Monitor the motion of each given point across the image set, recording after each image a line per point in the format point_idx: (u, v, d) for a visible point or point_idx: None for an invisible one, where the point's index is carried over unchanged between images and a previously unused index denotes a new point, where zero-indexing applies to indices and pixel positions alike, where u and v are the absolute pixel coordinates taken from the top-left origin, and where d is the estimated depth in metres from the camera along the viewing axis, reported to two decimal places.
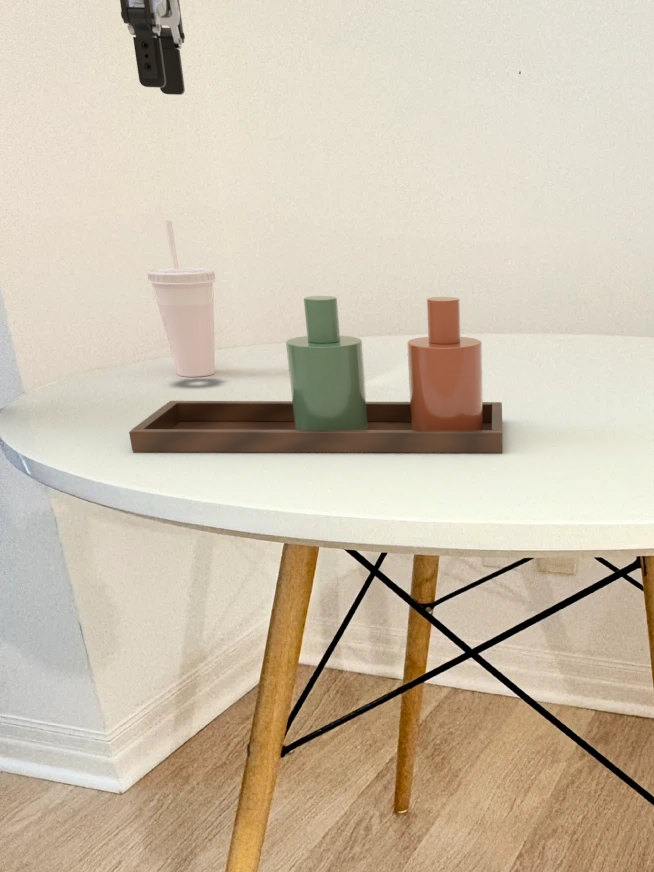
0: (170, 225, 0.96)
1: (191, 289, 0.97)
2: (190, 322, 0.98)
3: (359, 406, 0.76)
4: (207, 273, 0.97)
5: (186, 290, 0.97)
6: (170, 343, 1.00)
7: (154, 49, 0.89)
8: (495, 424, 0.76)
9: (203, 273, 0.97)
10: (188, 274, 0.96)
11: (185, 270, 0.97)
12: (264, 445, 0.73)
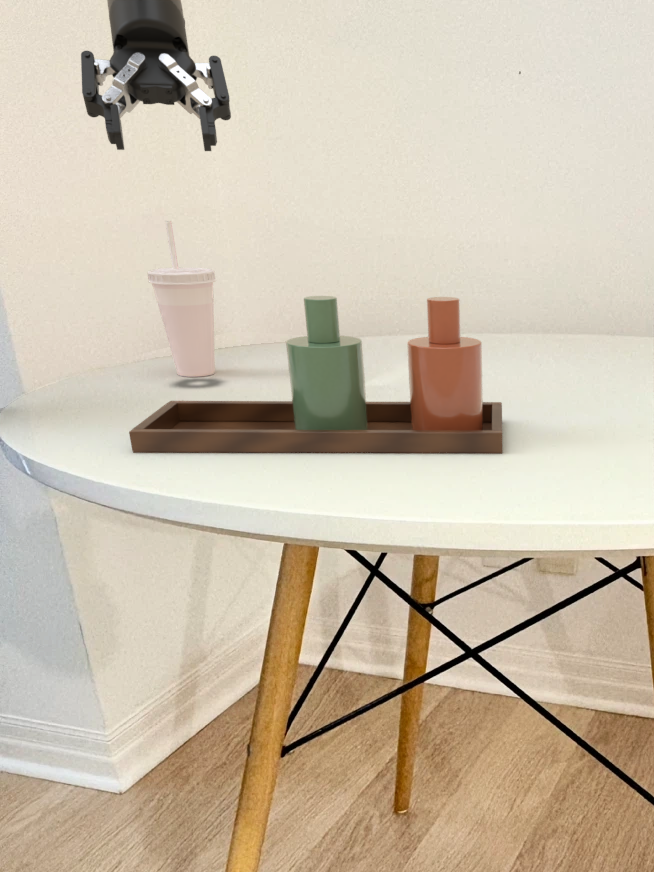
0: (170, 225, 0.96)
1: (191, 289, 0.97)
2: (190, 322, 0.98)
3: (359, 406, 0.76)
4: (207, 273, 0.97)
5: (186, 290, 0.97)
6: (170, 343, 1.00)
7: None
8: (495, 424, 0.76)
9: (203, 273, 0.97)
10: (188, 274, 0.96)
11: (185, 270, 0.97)
12: (264, 445, 0.73)
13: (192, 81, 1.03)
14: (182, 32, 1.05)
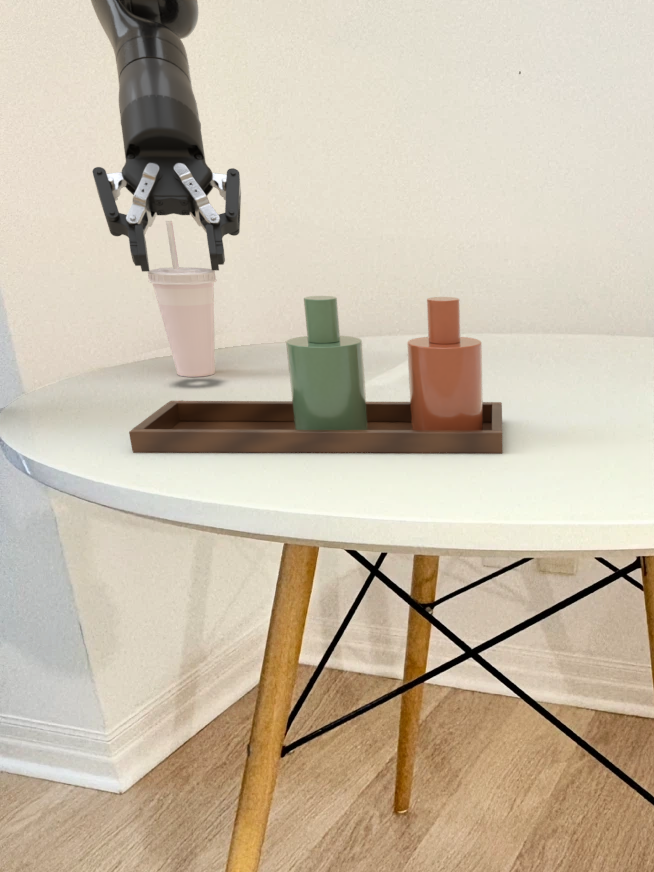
0: (171, 225, 0.96)
1: (191, 289, 0.97)
2: (190, 322, 0.98)
3: (359, 406, 0.76)
4: (208, 273, 0.97)
5: (186, 290, 0.97)
6: (170, 343, 1.00)
7: None
8: (495, 424, 0.76)
9: (204, 273, 0.97)
10: (189, 274, 0.96)
11: (186, 270, 0.97)
12: (264, 445, 0.73)
13: (203, 196, 0.97)
14: (198, 139, 0.99)
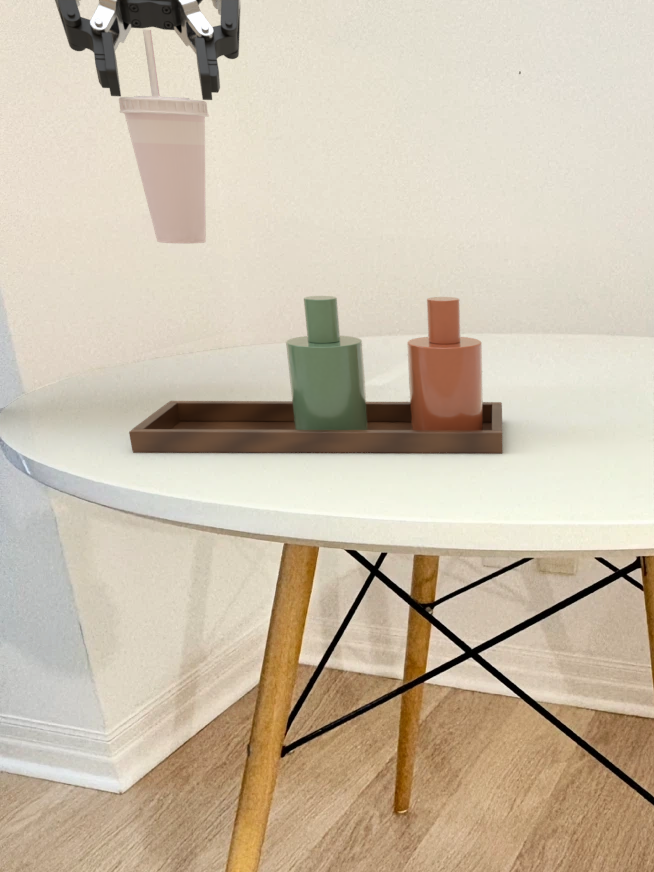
0: (150, 36, 0.73)
1: (176, 121, 0.74)
2: (175, 168, 0.76)
3: (359, 406, 0.76)
4: (197, 102, 0.75)
5: (170, 122, 0.74)
6: (148, 197, 0.77)
7: None
8: (495, 424, 0.76)
9: (192, 101, 0.74)
10: (173, 100, 0.73)
11: (169, 98, 0.75)
12: (264, 445, 0.73)
13: (192, 0, 0.74)
14: None
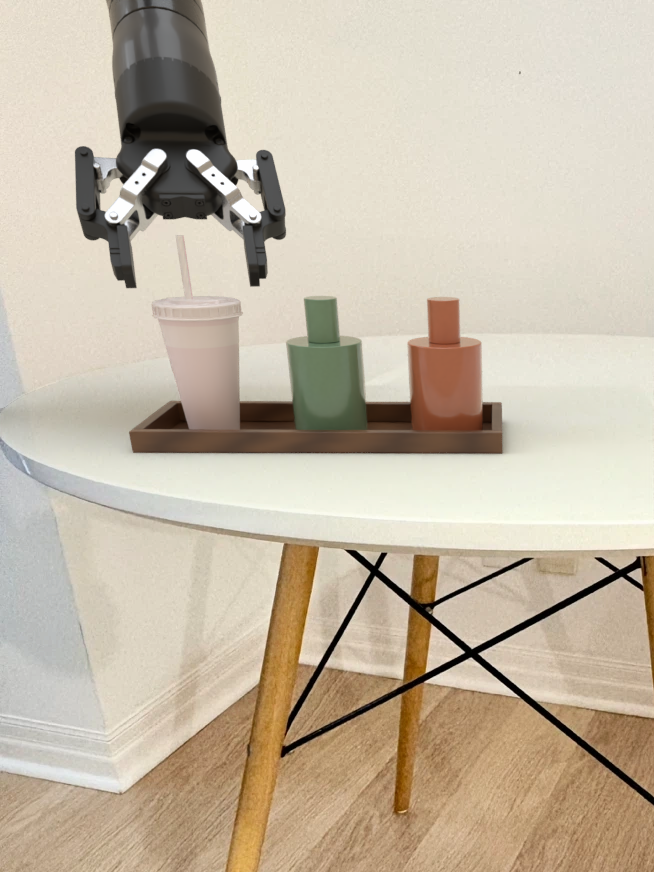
0: (182, 241, 0.71)
1: (210, 327, 0.72)
2: (209, 370, 0.74)
3: (359, 406, 0.76)
4: (232, 305, 0.73)
5: (204, 328, 0.72)
6: (181, 397, 0.75)
7: None
8: (495, 424, 0.76)
9: (226, 305, 0.72)
10: (206, 307, 0.71)
11: (202, 301, 0.73)
12: (264, 445, 0.73)
13: (233, 189, 0.72)
14: (218, 117, 0.74)
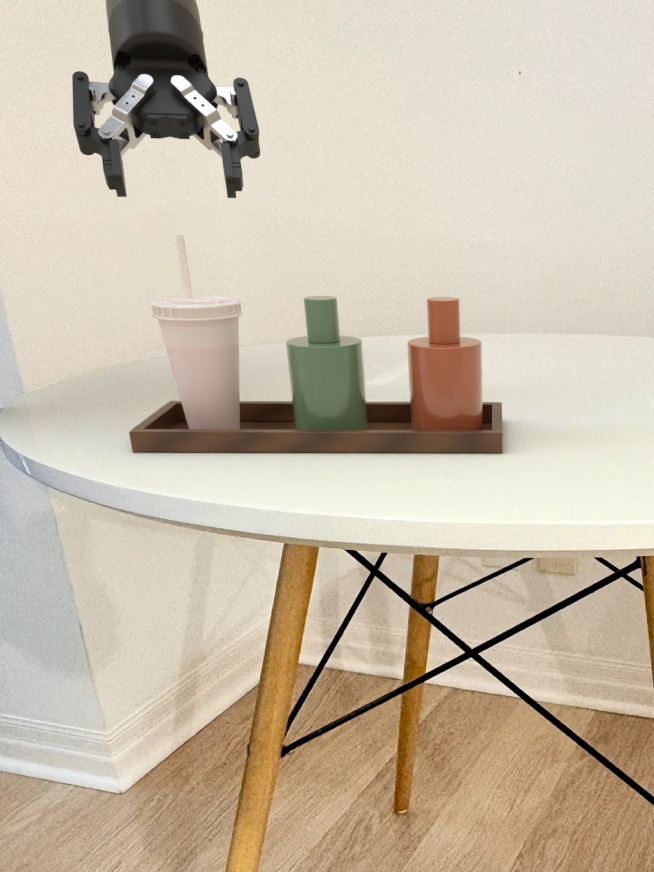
0: (182, 241, 0.71)
1: (210, 326, 0.72)
2: (208, 370, 0.74)
3: (359, 406, 0.76)
4: (231, 305, 0.73)
5: (203, 328, 0.72)
6: (181, 397, 0.75)
7: None
8: (495, 424, 0.76)
9: (226, 305, 0.72)
10: (206, 307, 0.71)
11: (202, 301, 0.73)
12: (264, 445, 0.73)
13: (213, 110, 0.82)
14: (200, 48, 0.83)
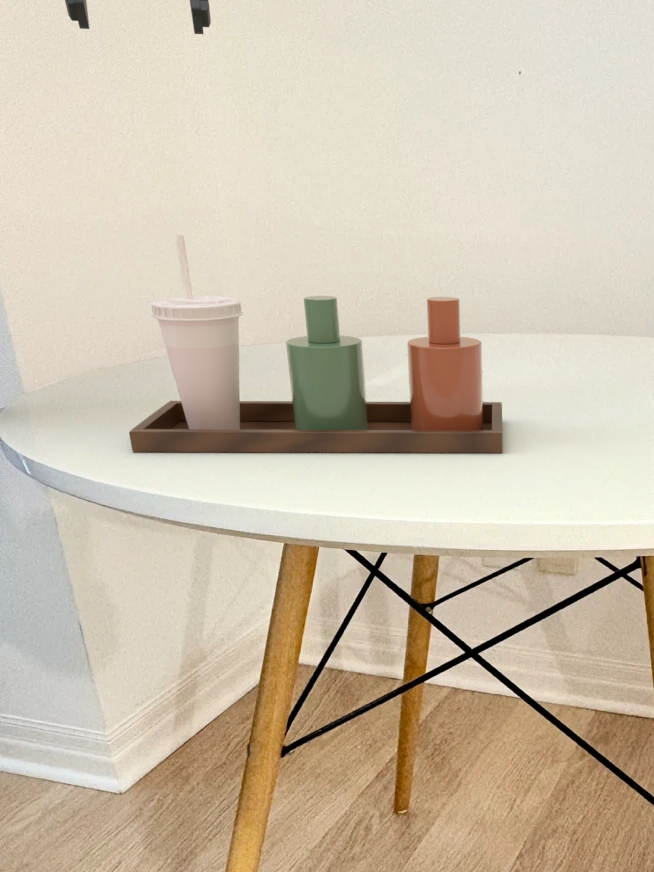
0: (182, 241, 0.71)
1: (210, 327, 0.72)
2: (208, 370, 0.74)
3: (359, 406, 0.76)
4: (231, 305, 0.73)
5: (203, 328, 0.72)
6: (181, 397, 0.75)
7: None
8: (495, 424, 0.76)
9: (226, 305, 0.72)
10: (206, 307, 0.71)
11: (202, 301, 0.73)
12: (264, 445, 0.73)
13: None
14: None
